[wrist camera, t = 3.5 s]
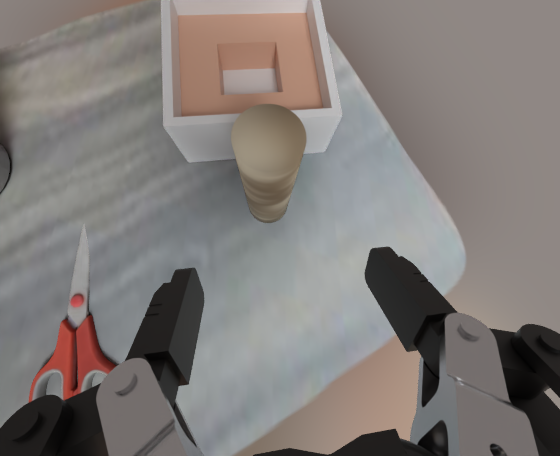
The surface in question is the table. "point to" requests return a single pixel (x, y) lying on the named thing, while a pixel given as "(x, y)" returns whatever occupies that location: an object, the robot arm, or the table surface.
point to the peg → (268, 157)
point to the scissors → (75, 339)
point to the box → (244, 70)
